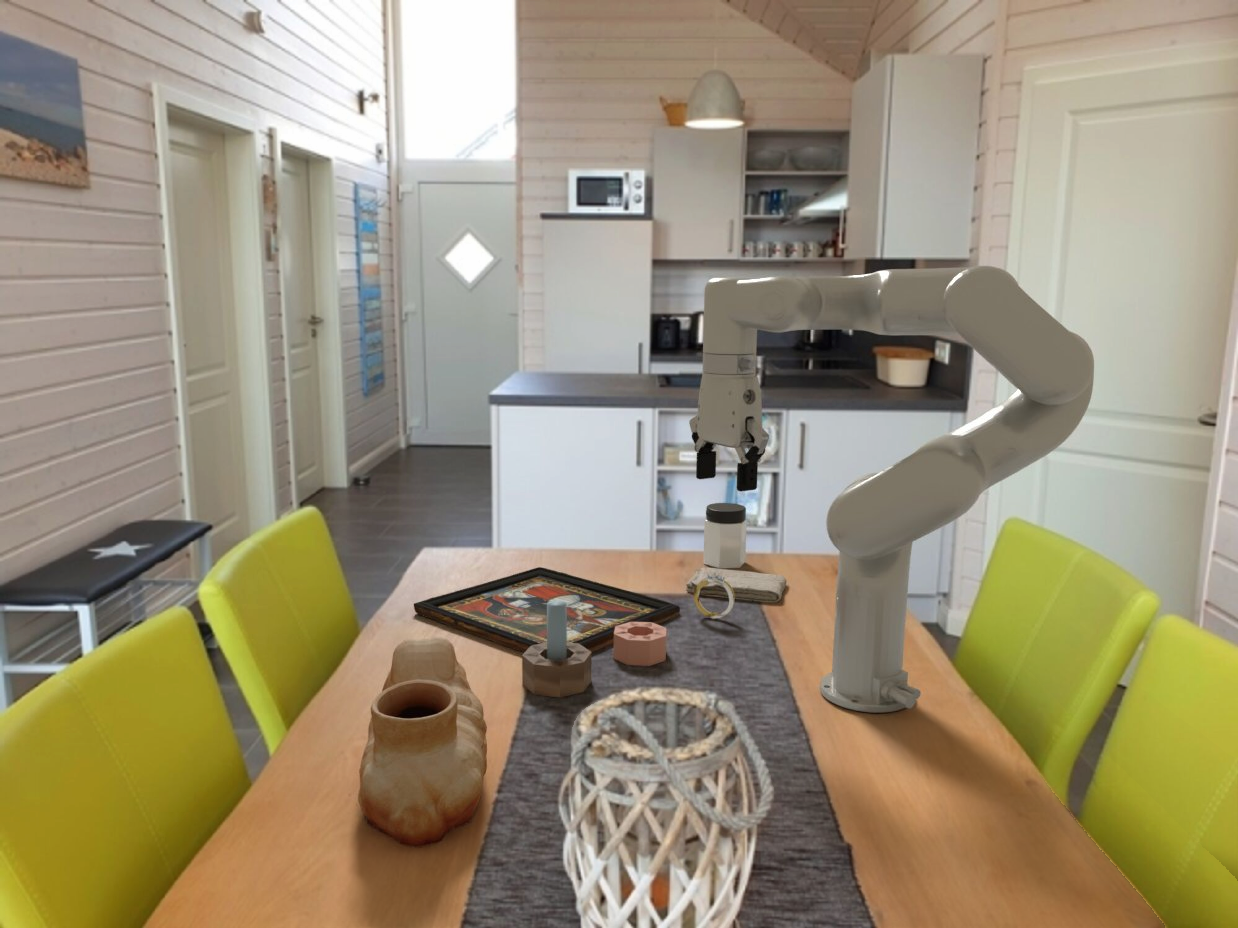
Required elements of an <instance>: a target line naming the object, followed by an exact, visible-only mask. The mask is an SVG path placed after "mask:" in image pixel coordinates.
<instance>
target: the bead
mask: <svg viewBox="0 0 1238 928" xmlns="http://www.w3.org/2000/svg"><path fill="white" fill-rule="evenodd" d="M521 656H522V657H521V661H522V662H521V664H522V665H521V670H522V671H521V673H522V674H521V675H522V677H521V678H522V686H523V687H524V688H525V689H527V690H528V691H529V692H530V693H531V694H533V695H535V696H543V697H552V698H558V699H559V698H560V699H561V698H564V697H568V696H573V695H578V694H580V693H585V692H586V690H587V688H588V687H589V686H590V684H591V683H592V652H591V651H589V650H588V649H586V648H585V647H583V646H582V645H580V644H579V643H569V642H567V659H562V660H551V659H547V643H542V644H537V645H532V646H530V647H529V648H528V649H527V651H526V652H525V653H524V652H523V654H522V655H521Z"/></svg>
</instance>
